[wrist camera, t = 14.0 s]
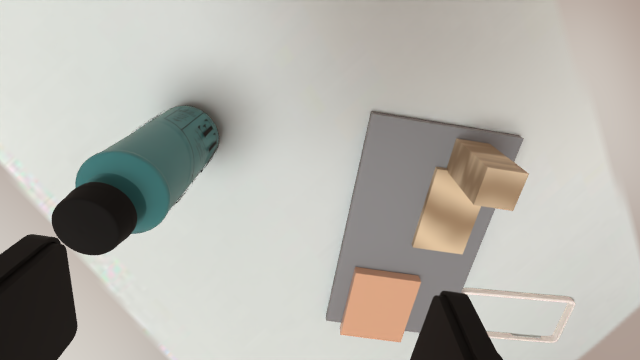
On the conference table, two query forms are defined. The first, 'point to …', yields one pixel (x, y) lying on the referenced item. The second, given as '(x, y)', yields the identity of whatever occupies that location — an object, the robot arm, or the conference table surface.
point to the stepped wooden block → (466, 195)
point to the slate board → (406, 209)
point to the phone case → (531, 296)
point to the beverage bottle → (135, 181)
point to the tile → (379, 304)
